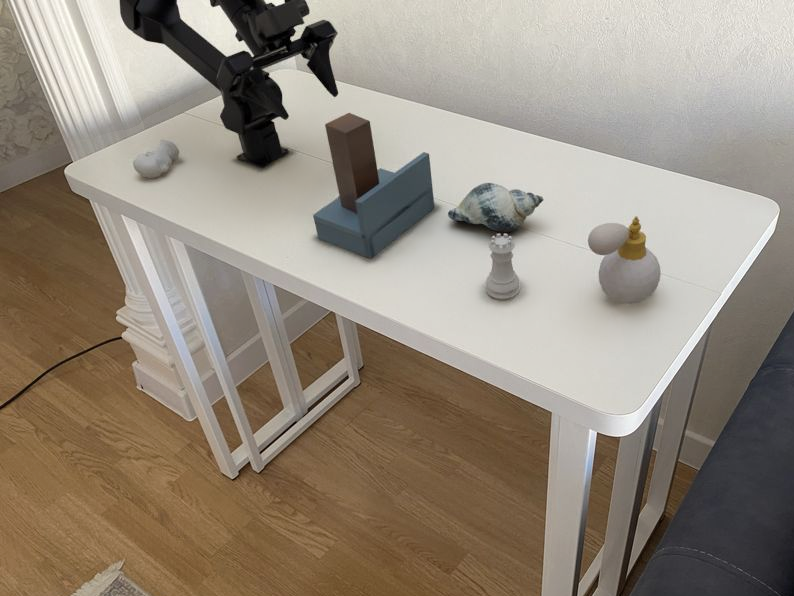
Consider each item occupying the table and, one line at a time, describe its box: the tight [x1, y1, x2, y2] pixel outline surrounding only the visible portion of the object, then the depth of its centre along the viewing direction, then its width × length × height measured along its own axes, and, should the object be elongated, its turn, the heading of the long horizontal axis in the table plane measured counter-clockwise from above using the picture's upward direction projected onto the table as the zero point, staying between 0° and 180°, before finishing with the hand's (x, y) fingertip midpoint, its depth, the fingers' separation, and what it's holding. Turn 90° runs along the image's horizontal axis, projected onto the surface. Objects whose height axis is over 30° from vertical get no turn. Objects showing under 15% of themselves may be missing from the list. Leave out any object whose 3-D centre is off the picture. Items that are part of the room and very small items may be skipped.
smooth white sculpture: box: [132, 139, 180, 179], centre depth 121 cm, size 4×8×5 cm
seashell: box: [447, 182, 544, 233], centre depth 103 cm, size 6×8×12 cm
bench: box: [312, 151, 435, 260], centre depth 104 cm, size 10×15×9 cm, turn 145°
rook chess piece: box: [485, 232, 521, 300], centre depth 91 cm, size 4×4×8 cm
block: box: [324, 112, 380, 214], centre depth 99 cm, size 4×4×12 cm
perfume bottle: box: [587, 216, 662, 305], centre depth 87 cm, size 8×10×12 cm
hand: (312, 106), depth 105 cm, fingers open, 9 cm apart
